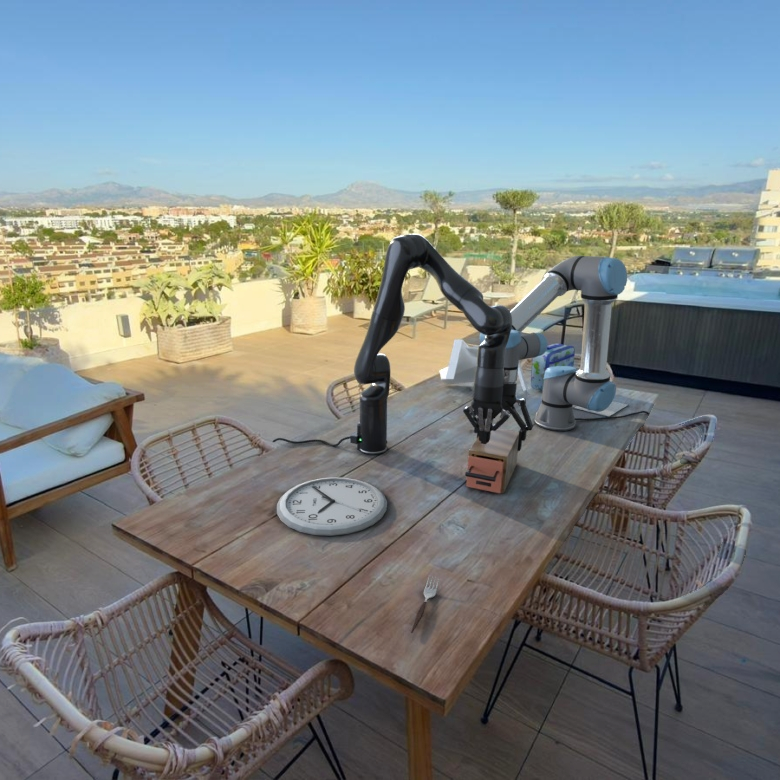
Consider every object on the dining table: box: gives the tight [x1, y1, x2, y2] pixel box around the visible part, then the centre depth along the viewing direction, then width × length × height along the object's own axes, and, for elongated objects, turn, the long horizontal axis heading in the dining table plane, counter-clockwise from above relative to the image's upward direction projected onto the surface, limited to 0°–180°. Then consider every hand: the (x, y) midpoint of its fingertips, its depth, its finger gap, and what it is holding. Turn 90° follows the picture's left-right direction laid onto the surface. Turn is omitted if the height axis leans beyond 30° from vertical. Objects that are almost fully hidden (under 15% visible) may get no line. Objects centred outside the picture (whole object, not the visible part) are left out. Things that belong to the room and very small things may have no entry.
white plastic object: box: [438, 338, 531, 399], centre depth 245 cm, size 37×45×31 cm
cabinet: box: [468, 427, 520, 494], centre depth 161 cm, size 21×11×11 cm, turn 157°
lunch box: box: [530, 343, 576, 391], centre depth 249 cm, size 26×11×21 cm, turn 134°
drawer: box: [464, 454, 504, 494], centre depth 155 cm, size 26×10×9 cm, turn 157°
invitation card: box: [573, 400, 629, 417], centre depth 226 cm, size 21×1×15 cm
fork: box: [410, 574, 440, 634], centre depth 104 cm, size 3×16×2 cm, turn 160°
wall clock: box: [276, 476, 388, 537], centre depth 142 cm, size 30×2×30 cm
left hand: (484, 442), depth 143 cm, fingers closed
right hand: (498, 445), depth 166 cm, fingers open, 12 cm apart
